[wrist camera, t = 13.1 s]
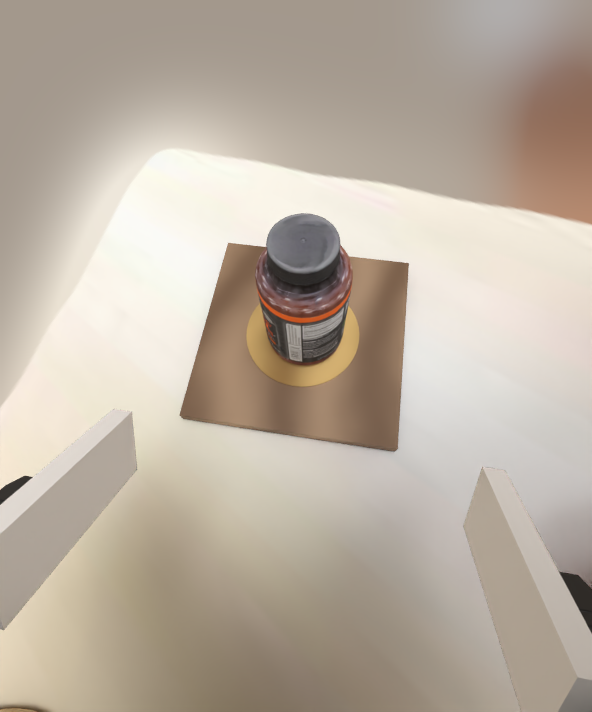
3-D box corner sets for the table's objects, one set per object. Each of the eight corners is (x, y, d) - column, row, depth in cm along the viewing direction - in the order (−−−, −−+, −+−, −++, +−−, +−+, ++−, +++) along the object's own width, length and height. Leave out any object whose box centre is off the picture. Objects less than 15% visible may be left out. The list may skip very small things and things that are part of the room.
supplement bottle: (261, 310, 32) (238, 207, 22) (331, 294, 33) (341, 187, 22) (276, 376, 30) (258, 297, 20) (351, 359, 30) (373, 272, 20)
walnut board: (406, 270, 35) (409, 262, 34) (394, 451, 29) (397, 448, 28) (230, 250, 36) (227, 241, 35) (183, 418, 30) (178, 414, 29)
